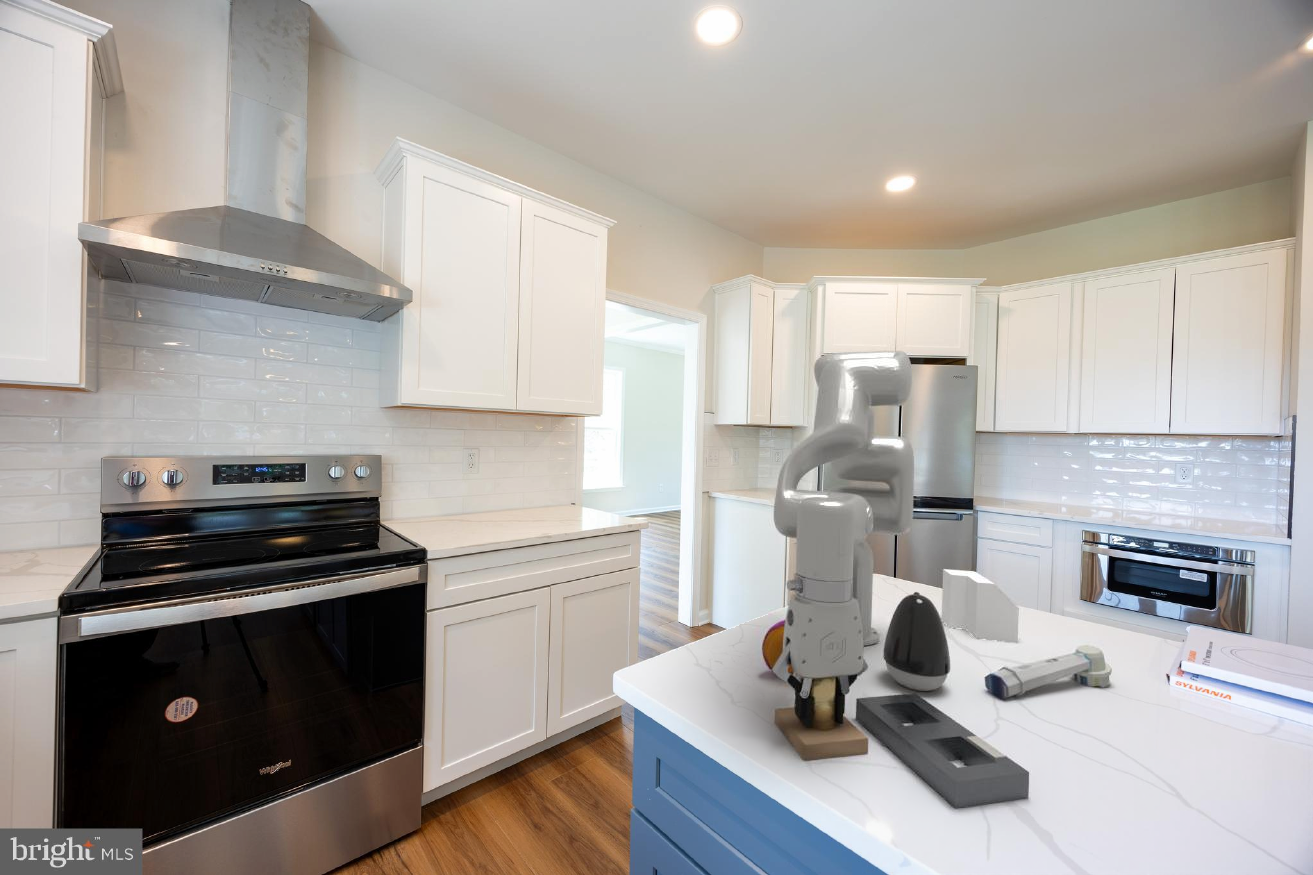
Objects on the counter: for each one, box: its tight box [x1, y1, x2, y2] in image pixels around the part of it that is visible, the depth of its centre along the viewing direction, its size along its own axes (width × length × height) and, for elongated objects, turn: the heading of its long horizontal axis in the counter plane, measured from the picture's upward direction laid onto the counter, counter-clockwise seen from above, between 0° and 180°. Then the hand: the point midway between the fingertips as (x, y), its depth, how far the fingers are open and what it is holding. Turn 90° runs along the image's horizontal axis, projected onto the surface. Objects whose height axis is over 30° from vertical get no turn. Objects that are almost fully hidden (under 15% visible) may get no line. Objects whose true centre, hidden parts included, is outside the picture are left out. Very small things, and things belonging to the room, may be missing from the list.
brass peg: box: [809, 677, 836, 731], centre depth 72 cm, size 4×4×7 cm
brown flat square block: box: [773, 706, 869, 761], centre depth 72 cm, size 9×9×2 cm
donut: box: [761, 619, 794, 675], centre depth 91 cm, size 8×9×10 cm
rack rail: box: [855, 692, 1030, 809], centre depth 69 cm, size 19×10×3 cm, turn 13°
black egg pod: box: [882, 591, 951, 692], centre depth 89 cm, size 10×10×15 cm
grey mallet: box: [984, 644, 1113, 700], centre depth 89 cm, size 5×7×25 cm
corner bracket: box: [941, 568, 1019, 644], centre depth 116 cm, size 11×11×12 cm
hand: (819, 719), depth 72 cm, fingers closed on brass peg, 4 cm apart
